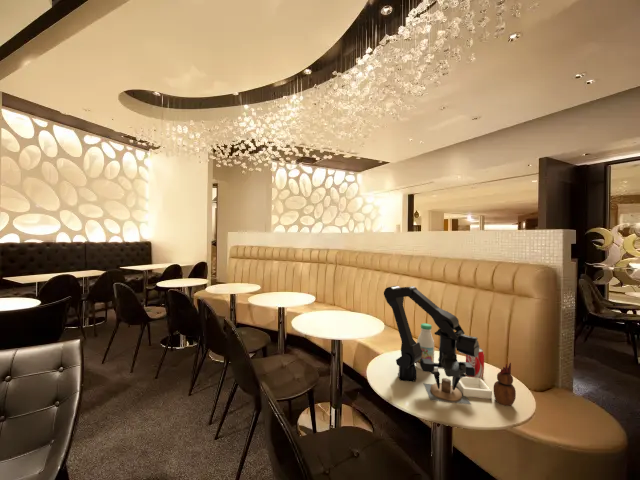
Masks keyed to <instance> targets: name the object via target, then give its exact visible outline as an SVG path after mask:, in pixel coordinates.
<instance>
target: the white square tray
mask: <svg viewBox="0 0 640 480" xmlns="http://www.w3.org/2000/svg"><path fill="white" fill-rule="evenodd" d="M457 387H458V389H459V390H460V391H461V393H462V395H463V396H466V397H467V398H477V399H478V398H479V399H485V400H486V399H487V400H492V398H493V391H492V389H491V388H490V387H489V386H488V385H487V384H486V382H485V381H484V380H483V379H482V378H475V377H470V376H466V377H462V378H461V379H460V380H459V382H458V384H457Z"/></svg>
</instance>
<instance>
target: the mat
mask: <svg viewBox="0 0 640 480" xmlns="http://www.w3.org/2000/svg"><path fill="white" fill-rule="evenodd" d="M433 384H434V383H423V386H424V388H425V391H426V393H427V395H428V399H430V401H433V402H434V401H435V402H443V403H445V402H446V403H452V404H453V403H455V404H463V405H464V404H465V405H472V403H471V402H470V400H469V398H468V397H466V396H463V395H462V398H461V400H459V401H446V400H442V399H440V398H437V397H436V396H434V395H433V394H432V393H431V390H430V389H431V385H433ZM456 388H457V389H458V387H457V386H456Z"/></svg>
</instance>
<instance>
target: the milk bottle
mask: <svg viewBox="0 0 640 480" xmlns="http://www.w3.org/2000/svg"><path fill="white" fill-rule="evenodd" d="M418 342H419V343H420V347H421V350H422V351H423V352H422V357H421V359H431V361H432V362H433V363H435V341H434V338H433V336H432V324H430V323H421V324H420V333H419V335H418V337H417V340H416V343H418ZM421 359H420V360H421ZM420 360H418V361H417V363H415V367H416V368H417V369H420V370H422V368H421V366H420Z"/></svg>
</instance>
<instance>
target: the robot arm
mask: <svg viewBox="0 0 640 480" xmlns="http://www.w3.org/2000/svg"><path fill="white" fill-rule="evenodd" d="M383 296H384V299H385V301H386V303H387V304H388V306H390V308H391V310H392V313H393V317H394V320H395V324H396V327H397V330H398V334H399V336H400V341H401V344H400V345H401V346H400V352H401V353H400V354H401V356H400V357H398V358H397V359H395V362H396V365H397V366H398V373H397V375H398V380H399V381H403V382H412V383H416V380H417V367H416V363H417V361H418V360H420V359H421V357H422V352H423V351H422V350H421V347H420V343H419V342H418V343H417V341H415V340H414V338H413V334H412V331H411V328H410V325H409V321H408V317H407V313H406V311H405V308H404V307H405V306H404V300H405V298H410V299H411V300H412V301H413V302H414V303H415V304H417V305H418V306H419V307H420V308H421V309H422V310H423V311H425V312H426V314H428V315H429V316H430V318H432V320H433V322H434V324H435V325H436V326H437V327H438V330H436V332H435V331H434V333H433V335H436V336H439V347H438V353H439V354H438V359H437V360H438V362H434V363H433V362H432V361H431V359H421V360H420V366H421V368H422V369H421V371H422V372H424V373H431V374H432V375H433V376H434V381H435V384H436V383H437V387H438V389H439V388H440V375H441V373H440V371H439V369H440V370H443V371H444V374H445V376H446V377H448V378H449V377H452V381H451V386H452V389H453V390H455V388H456V386H457V384H458V382H459V380H460V379H461V378H462V377H470V376H475V368H474V367H473V366H472V365H471V364H470V363H469V362H466V361H458V357H457V351H458V353H459V354H463V355H465V356H466V355H469V356H473V357H477V356H478V353H479V348H480V344H479V341H478V339H479V338H478V337H476V336H472V335H466V334H465V331H464V329H463V328H462V327H461V325H460V322H459V321H460V320H459V318H457V316H455V315H454V314H452V313H451V312H449V311H448V310H446V309H443V308H441V307H439V306H438V305H436V303H434V302H433V301H431V299H429V298H428V297H427V296H425V295H424V293H422V292H421V291H420V290H418V288H417V287H416V286H414V285H412V286H403V287H400V286H399V285H392V286H388V287H386V288H385V289H384V291H383Z"/></svg>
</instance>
